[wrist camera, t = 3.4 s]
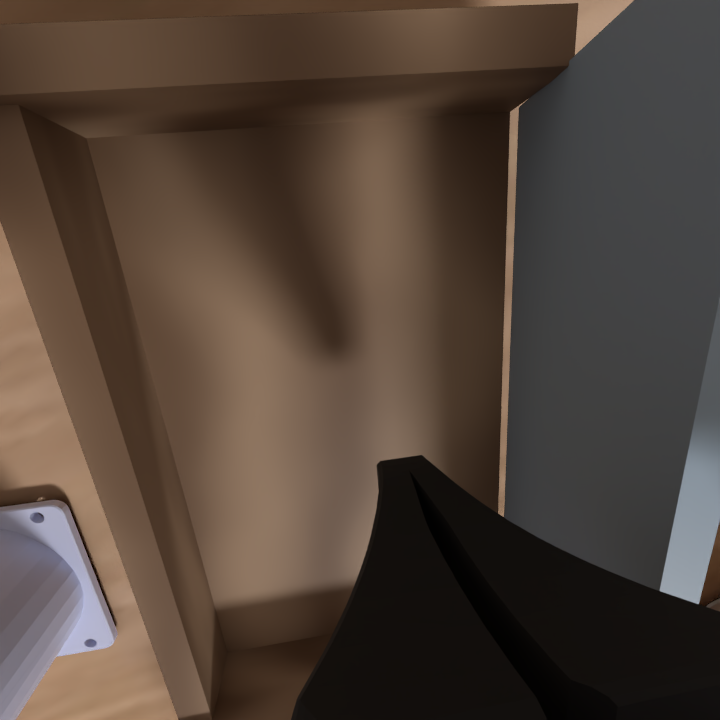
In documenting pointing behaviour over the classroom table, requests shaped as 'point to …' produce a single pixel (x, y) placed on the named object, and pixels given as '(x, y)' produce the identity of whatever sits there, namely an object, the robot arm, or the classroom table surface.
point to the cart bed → (267, 296)
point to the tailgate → (621, 301)
